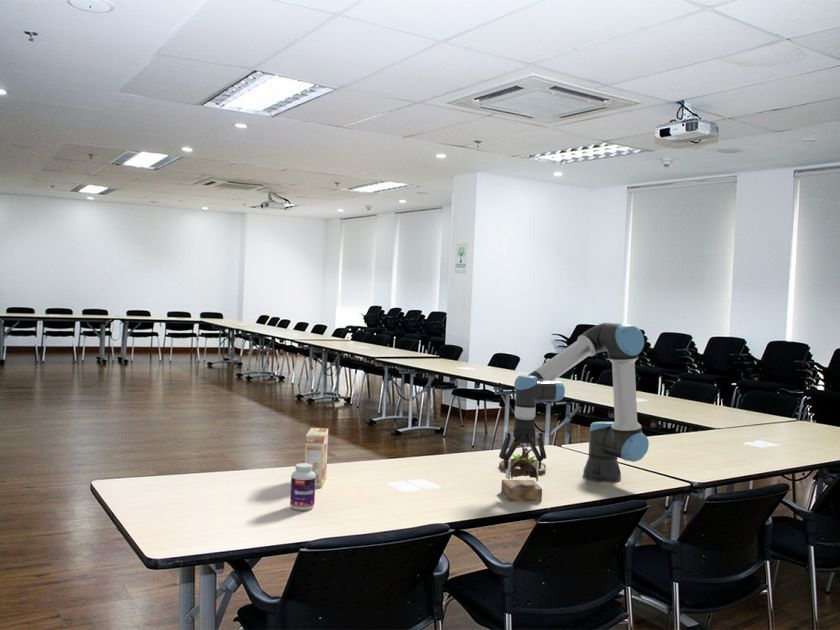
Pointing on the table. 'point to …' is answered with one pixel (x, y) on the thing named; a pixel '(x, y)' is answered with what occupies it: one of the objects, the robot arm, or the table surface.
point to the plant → (523, 456)
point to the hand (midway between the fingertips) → (521, 477)
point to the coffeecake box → (317, 453)
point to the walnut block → (521, 490)
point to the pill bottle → (302, 487)
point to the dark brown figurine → (523, 469)
